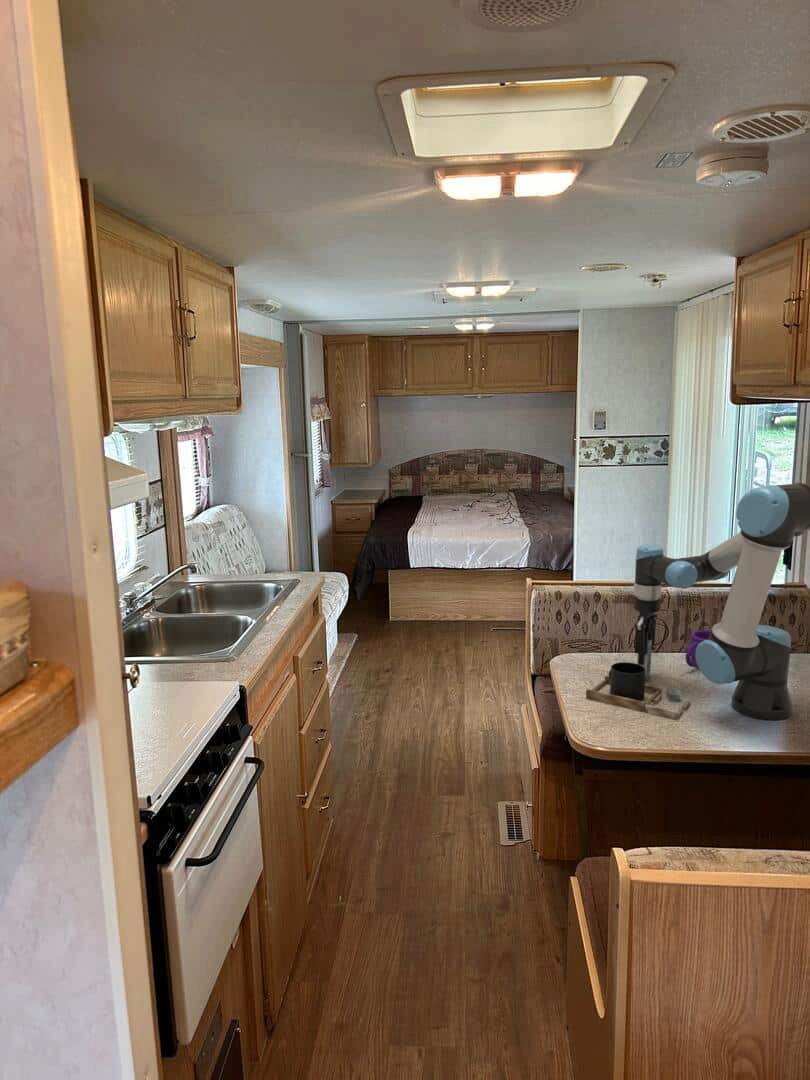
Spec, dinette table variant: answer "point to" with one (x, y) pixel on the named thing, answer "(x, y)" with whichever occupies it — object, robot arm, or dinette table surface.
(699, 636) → the mug
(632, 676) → the mug
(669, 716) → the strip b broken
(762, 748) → the dinette table surface
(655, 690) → the wooden frame with post
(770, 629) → the robot arm
